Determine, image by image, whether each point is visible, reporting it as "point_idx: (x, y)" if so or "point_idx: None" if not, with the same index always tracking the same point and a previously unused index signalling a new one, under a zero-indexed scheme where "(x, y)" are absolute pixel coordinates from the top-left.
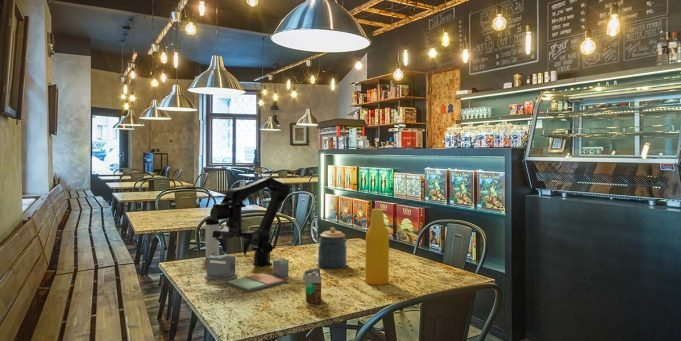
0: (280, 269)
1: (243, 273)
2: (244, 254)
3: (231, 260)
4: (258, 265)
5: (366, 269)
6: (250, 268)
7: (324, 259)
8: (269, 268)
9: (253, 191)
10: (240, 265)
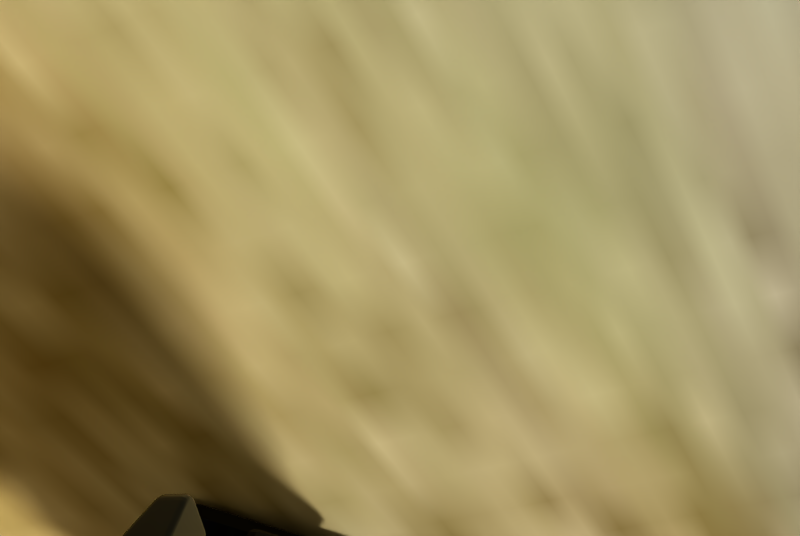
0: None
1: (177, 71)
2: (155, 500)
3: None
4: (246, 523)
5: None
6: (287, 398)
7: None
8: (16, 466)
9: None
10: (542, 489)
